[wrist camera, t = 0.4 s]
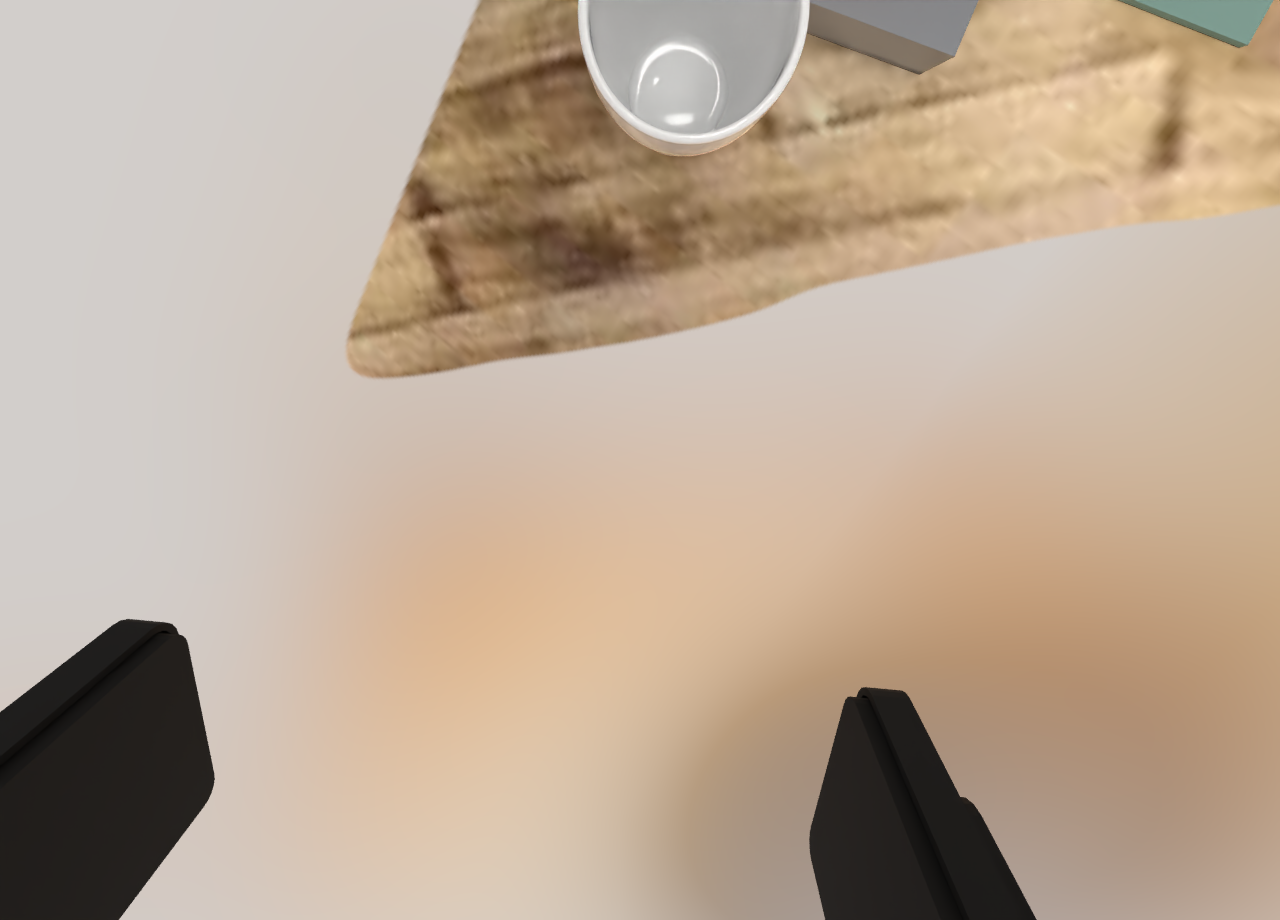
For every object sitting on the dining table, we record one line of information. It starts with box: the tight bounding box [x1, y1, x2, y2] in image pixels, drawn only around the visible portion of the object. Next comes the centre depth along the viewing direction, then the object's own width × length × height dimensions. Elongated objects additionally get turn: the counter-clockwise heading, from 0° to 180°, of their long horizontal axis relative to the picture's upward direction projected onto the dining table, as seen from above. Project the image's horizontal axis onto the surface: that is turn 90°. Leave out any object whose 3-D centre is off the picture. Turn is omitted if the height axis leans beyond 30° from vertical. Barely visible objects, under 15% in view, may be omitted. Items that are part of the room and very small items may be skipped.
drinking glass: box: [578, 0, 810, 156], centre depth 25 cm, size 7×7×15 cm
